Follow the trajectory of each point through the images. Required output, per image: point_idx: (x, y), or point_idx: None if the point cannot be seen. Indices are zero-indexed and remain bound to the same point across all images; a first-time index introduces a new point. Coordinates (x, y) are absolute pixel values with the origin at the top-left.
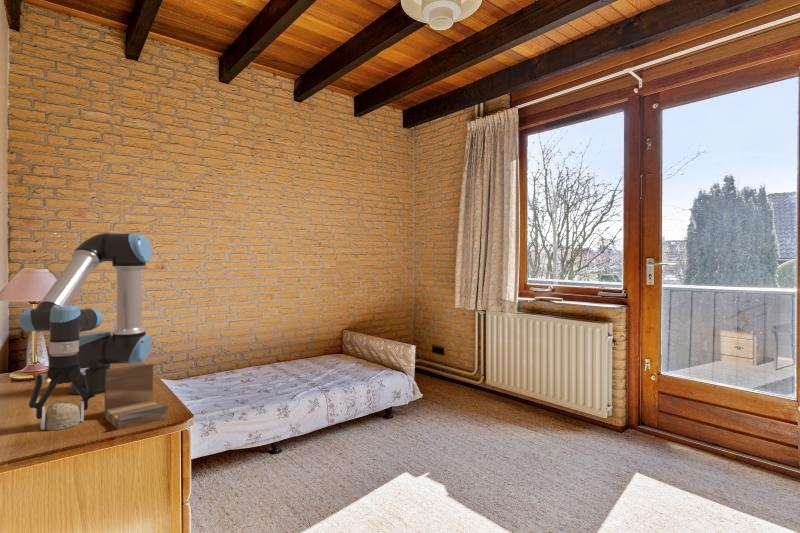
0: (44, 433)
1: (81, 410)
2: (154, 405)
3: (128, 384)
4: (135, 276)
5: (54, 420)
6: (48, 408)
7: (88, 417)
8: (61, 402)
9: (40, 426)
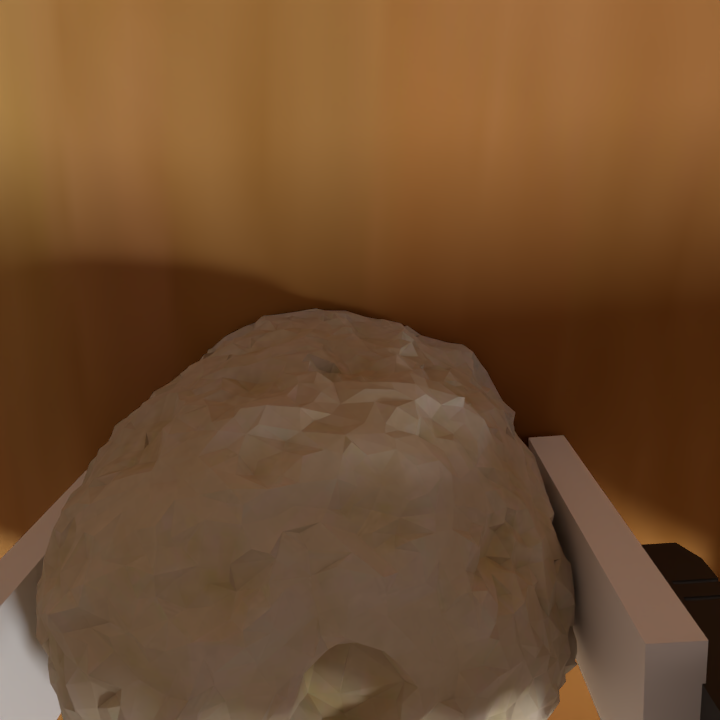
0: None
1: (584, 663)
2: None
3: None
4: None
5: None
6: (50, 650)
7: (659, 375)
8: (263, 680)
9: (80, 482)
